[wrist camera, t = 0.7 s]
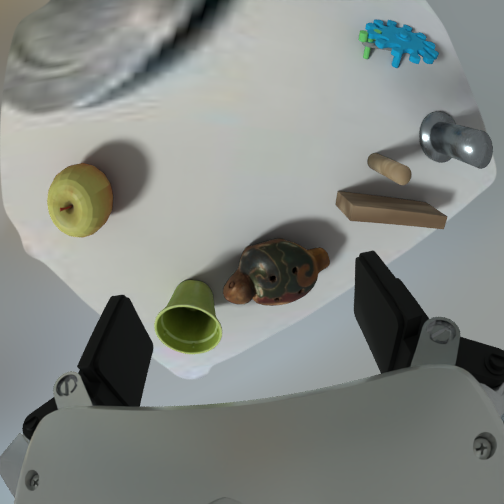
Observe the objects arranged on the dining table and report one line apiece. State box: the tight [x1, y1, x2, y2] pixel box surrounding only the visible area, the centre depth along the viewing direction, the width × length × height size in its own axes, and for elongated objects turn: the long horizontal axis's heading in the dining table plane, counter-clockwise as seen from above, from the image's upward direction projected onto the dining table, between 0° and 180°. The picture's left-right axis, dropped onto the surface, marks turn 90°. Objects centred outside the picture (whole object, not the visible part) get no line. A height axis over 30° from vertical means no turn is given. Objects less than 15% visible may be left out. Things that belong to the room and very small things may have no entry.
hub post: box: [420, 112, 493, 169], centre depth 30 cm, size 8×8×10 cm
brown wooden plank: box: [336, 191, 447, 229], centre depth 37 cm, size 2×16×6 cm, turn 87°
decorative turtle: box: [223, 238, 330, 306], centre depth 40 cm, size 10×15×8 cm, turn 109°
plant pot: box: [154, 280, 222, 354], centre depth 42 cm, size 9×9×9 cm
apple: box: [47, 163, 113, 237], centre depth 33 cm, size 10×10×8 cm
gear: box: [359, 20, 439, 68], centre depth 27 cm, size 11×6×10 cm
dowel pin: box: [367, 153, 411, 185], centre depth 33 cm, size 2×2×8 cm
